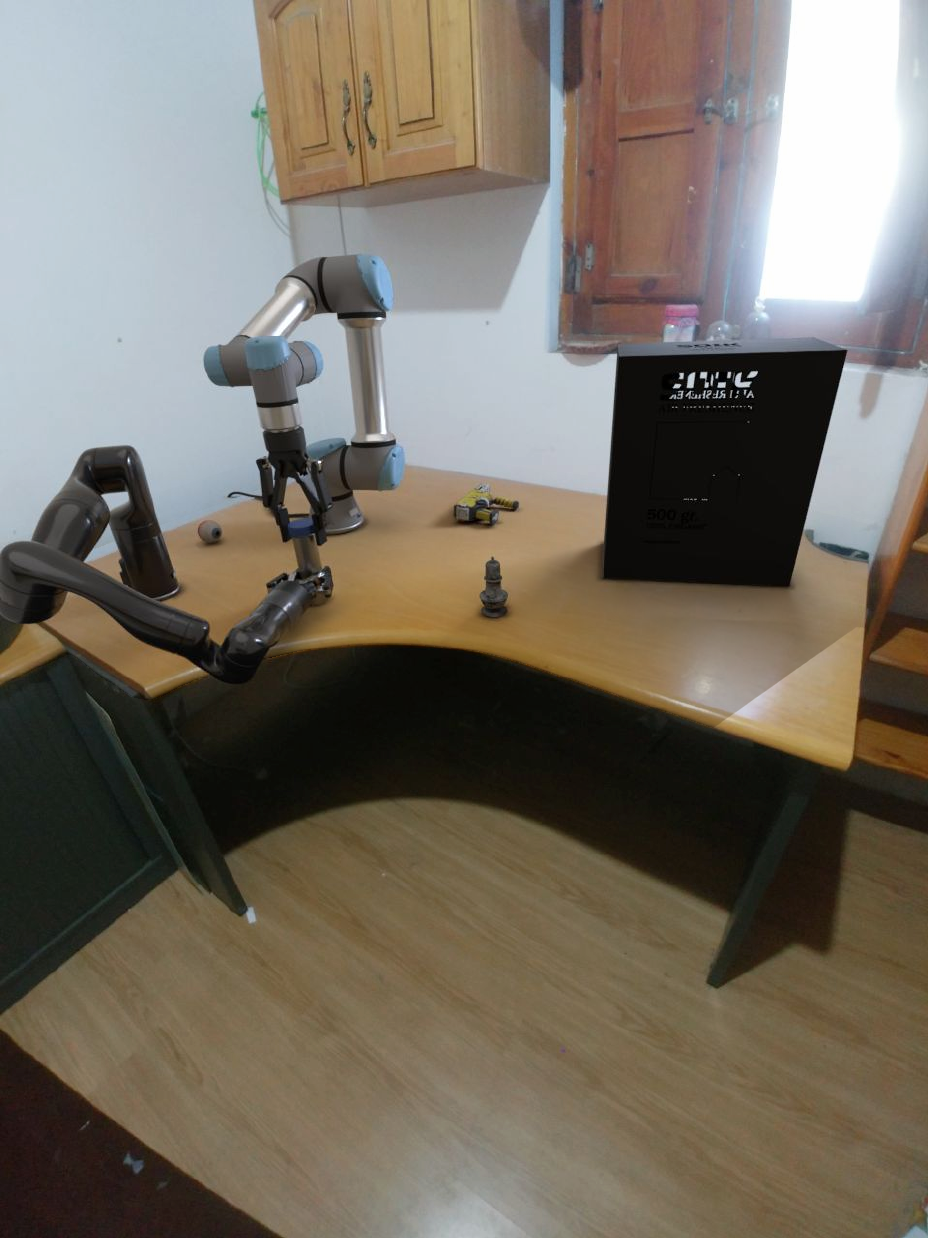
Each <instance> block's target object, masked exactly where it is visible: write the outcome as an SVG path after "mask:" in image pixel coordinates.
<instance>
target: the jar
mask: <svg viewBox="0 0 928 1238" xmlns="http://www.w3.org/2000/svg"><path fill="white" fill-rule="evenodd" d="M291 541H292V544H293V548H294V555H295V559H296V563H297V568H298V569H299V574H300V578H301V580H305V579H307V578H309V577H310V576H312V575H314V576H316V575H318V574H319V573H320V572H321V570H322V569H323V565H322V561H321V555H320V549H319V546H317V542H316V537H315V533H313V534H311V535H308V536H302V537H295V536H292V539H291ZM319 583H320V579H319ZM328 599H329V598H326V597H325V595H317V597H316V598H314V599H312V600H311V602H310V605H309V606H311V607H312V606H319V605H323V604H325V603H326V602H328Z"/></svg>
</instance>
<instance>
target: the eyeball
mask: <svg viewBox="0 0 928 1238" xmlns="http://www.w3.org/2000/svg"><path fill="white" fill-rule="evenodd" d="M222 534H223V529H222V527H221V525H220V524H219V523H218V522H217V521H215V520H212V519H207V520H204V521H202V522H201V523H200V524H199V525H198V527H197V535H198V538H199V539H201V540H202V541H203V542H205V543H208V544H213V543H216V542H218V541H219V540H220V539H221V538H222Z"/></svg>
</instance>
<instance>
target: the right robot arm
mask: <svg viewBox="0 0 928 1238" xmlns="http://www.w3.org/2000/svg"><path fill="white" fill-rule="evenodd" d="M394 298H395V297H394V289H393V283H392V279H391V275H390V273H389V270H388V268H387V266H386V264H385V262H384V261H383V259H382V258H381V257H379V255H377V254H371V253H369V254H367V253H365V254H364V253H357V254H347V255H334V256H333V255H332V256H319V257H313V258H311V259H309V260H306V261H305V262H302V263H301V264H299V265H298V266H296V267H295V268H293V269H292V270H290V271H289V272H288V273H286V274H285V275H284V276H283V277H282V278H281V279H280V280H279V281H278V283H277V284H276V286H275V288H274V294H273V295H272V296H271V297H270V298H269V299H268V300H267V302H266V303H265V304H263V306H262V307H261V308H259V310H258V311H257V312H256V313H255V314H254V315H253V317H252V318H250V320H249V321H248V322H247V323H245V325H244V326H243V327H242V328H241V329H240V330H239V332H237V333H236V335H234V337H233V338H232V339H231V340H229V342H228V343H226V344H220V343H219V344H217V345H211V346H208V347H207V348H206V349H205V351H204V353H203V357H202V359H203V368H204V371H205V373H206V375H207V378H208V380H209V381H210V382H211V383H212V384H214V385H215V386H217V387H230V388H235V387H252V390H253V395H254V398H255V405H256V410H257V415H258V419H259V425H260V428H261V429H263V432H262V438H263V442H264V447H265V450H266V451H267V452H268V454H267V456H266V455H264V456H262V457H259V458H257V459H256V460H255V464H256V467H257V469H258V472H259V481H260V489H261V495H256V494H251V493H247V492H242V491H233V492H230V493H228V495H227V498H231V497H232V496H233V495H241V496H245V497H249V498H255V499H260V500H262V506H263V508H265V509H267V508H268V509H269V510H270V512H271V513H272V514H273V516H274V520H275V524H276V526H278V527H279V530H280V536H281V539H282V543H286V544H287V543H288V542H289V541H292V536H291V535H290V534H289V531H288V524H289V523H290V522H291V520H290V519H291V518H292V517H295V518H296V517H308V519H312V521H313V526H314V531H315V537H316V542H317V546H318V547H322V546H323V545H324V544H325V543H327V542H328V538H327V535H329V536H331V535H339V534H340V535H341V534H345V533H350V532H353V531H355V530H357V529H359V528H361V527H362V526H363V525H364V523H365V519H364V514H363V512H362V510H361V508H360V505H359V504H358V501H357V500H356V498H355V495H354V491H377V492H384V491H394V490H396V489H398V487H400V485H401V483H402V481H403V478H404V473H405V469H406V468H405V466H406V454H405V449H404V447H403V446H402V445H401V444H397V437H396V436H395V435H394V434H393V433H392V432H391V430H390V423H389V411H388V410H389V409H388V398H387V387H386V374H385V361H384V348H383V338H382V337H383V336H382V327H383V325H384V324H385V323H386V321H387V312H389V311H391V310H392V309H393V307H394ZM321 314H322V315H323V314H336V319H337V323H339V324H340V325H341V326H342V327H343V328H344V332H345V334H344V335H345V342H346V343H345V344H346V353H347V361H348V373H349V381H350V391H351V399H352V400H351V401H352V409H353V421H354V428H355V429H354V430H355V432H354V434H353V436H351V438H350V444H347V441H346V439H345V438H343V437H331V438H325V439H322V440H318V441H315V442H313V443H309V444H308V445H307V439H306V435H305V429H304V428H303V426H302V424H303V418H302V413H301V407H300V404H299V397H298V392H297V388H298V387H301V386H303V385H308V384H309V385H310V384H311V383H313V381H314V380H317V379H318V378H319V377H320V375H321V374H322V372H323V370H324V358H323V354H322V353H321V351H320V349H319V348H318V347H317V346H316V345H315V344H314V343H312V342H311V341H308V340H294V341H292V342H289V341H288V339H289V338H290V336H291V335H292V334H293V332H294V331H296V329H297V328H298V327H299V325H300V324H301V323H303V322H307V321H309V320H310V319H311V318H312V317H313V316H317V315H321ZM273 469H274V473H273ZM288 479H293V480H294V481H295V482H296V484H298V485H299V486H300V488H301V490H302V492H303V494H304V495H305V498H306V500H307V501H308V503H309V505H310V507H309V513H308V512H307V513H304V512H303V513H302V512H301V513H289V510H288V508H287V507H285V506H286V504H284V503H285V497H286V490H287V484H288V483H287V482H288Z"/></svg>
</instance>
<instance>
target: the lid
mask: <svg viewBox="0 0 928 1238" xmlns="http://www.w3.org/2000/svg"><path fill="white" fill-rule="evenodd" d="M288 531H289V534H290V535H291V536H295V537H302V536H308V535H311V534H313V533H315V531H314V526H313V521H312V519H309V518H306V517H305V518H297V519H295V520H292V521H290V523H289V524H288Z"/></svg>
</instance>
